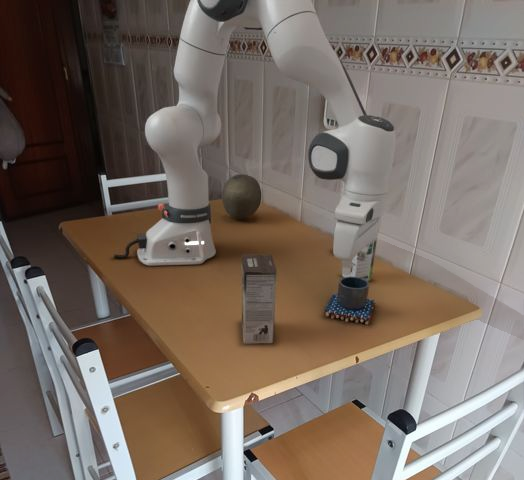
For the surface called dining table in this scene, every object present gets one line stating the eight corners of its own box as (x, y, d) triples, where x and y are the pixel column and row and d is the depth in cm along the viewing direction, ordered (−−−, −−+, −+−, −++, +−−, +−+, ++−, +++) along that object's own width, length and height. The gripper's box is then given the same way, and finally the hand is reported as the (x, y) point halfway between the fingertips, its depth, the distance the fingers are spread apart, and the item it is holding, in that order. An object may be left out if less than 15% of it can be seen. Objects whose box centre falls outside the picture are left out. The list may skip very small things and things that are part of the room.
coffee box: (240, 323, 109) (241, 253, 100) (269, 322, 109) (272, 253, 101) (242, 344, 101) (243, 271, 92) (274, 343, 102) (277, 271, 93)
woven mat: (369, 326, 109) (370, 318, 108) (322, 317, 112) (323, 310, 111) (375, 306, 118) (377, 298, 116) (332, 299, 120) (333, 291, 119)
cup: (345, 312, 110) (347, 290, 107) (331, 299, 115) (334, 278, 112) (371, 308, 112) (374, 286, 109) (356, 296, 117) (359, 275, 114)
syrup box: (353, 284, 128) (361, 230, 120) (340, 275, 133) (347, 223, 125) (371, 280, 130) (379, 227, 123) (357, 272, 135) (365, 220, 127)
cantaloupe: (213, 218, 173) (212, 174, 165) (243, 211, 181) (244, 168, 173) (239, 228, 164) (239, 182, 156) (270, 220, 172) (271, 176, 164)
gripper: (365, 190, 110) (356, 249, 118) (331, 212, 95) (323, 278, 102) (392, 195, 108) (381, 254, 115) (362, 218, 93) (352, 285, 100)
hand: (354, 266), depth 109 cm, fingers open, 8 cm apart
